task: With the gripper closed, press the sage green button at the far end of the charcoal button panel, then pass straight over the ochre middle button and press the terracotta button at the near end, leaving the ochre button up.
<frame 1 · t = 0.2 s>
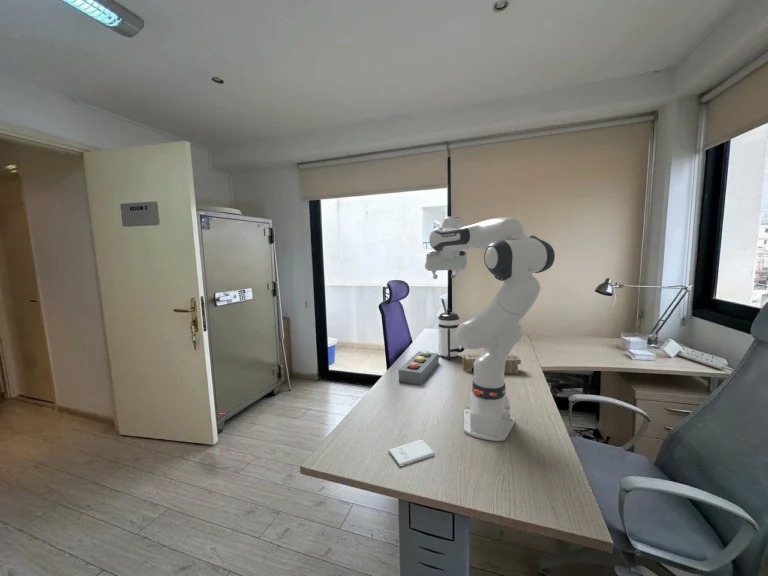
hand: (444, 278, 151), 52 cm above the table, tool tilted 20°, fingers open, 8 cm apart
brick button: (413, 365, 160), point 7 cm above the table, slide at 0.0 cm
sage button: (425, 353, 178), point 7 cm above the table, slide at 0.0 cm
ochre button: (419, 359, 169), point 7 cm above the table, slide at 0.0 cm
coffee press: (451, 357, 192), on the table
button panel: (420, 371, 169), on the table
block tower: (490, 371, 168), on the table
external hard drive: (411, 455, 100), on the table
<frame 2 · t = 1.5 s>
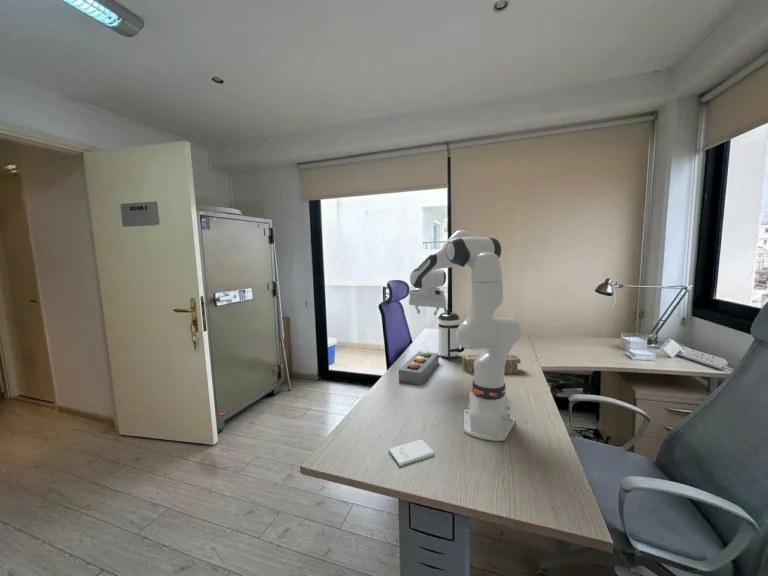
hand: (426, 314, 173), 31 cm above the table, tool pointing down, fingers open, 8 cm apart
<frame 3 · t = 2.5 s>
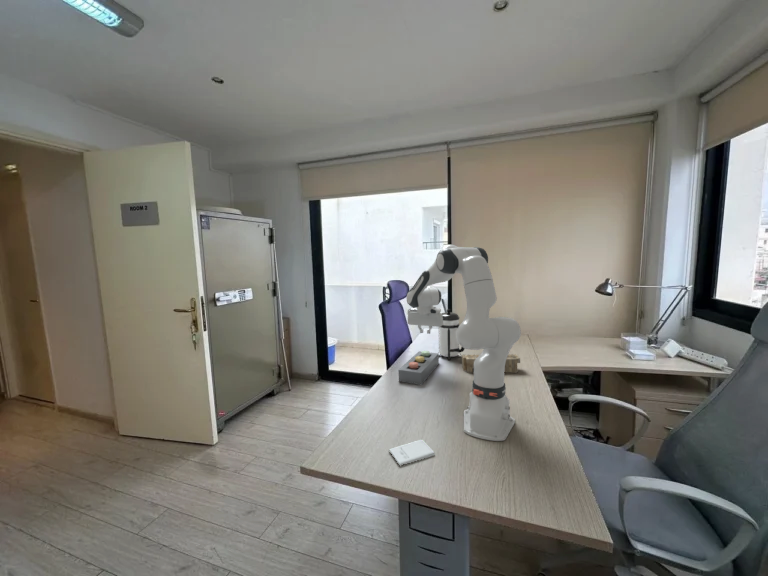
hand: (425, 333, 176), 19 cm above the table, tool pointing down, fingers open, 3 cm apart
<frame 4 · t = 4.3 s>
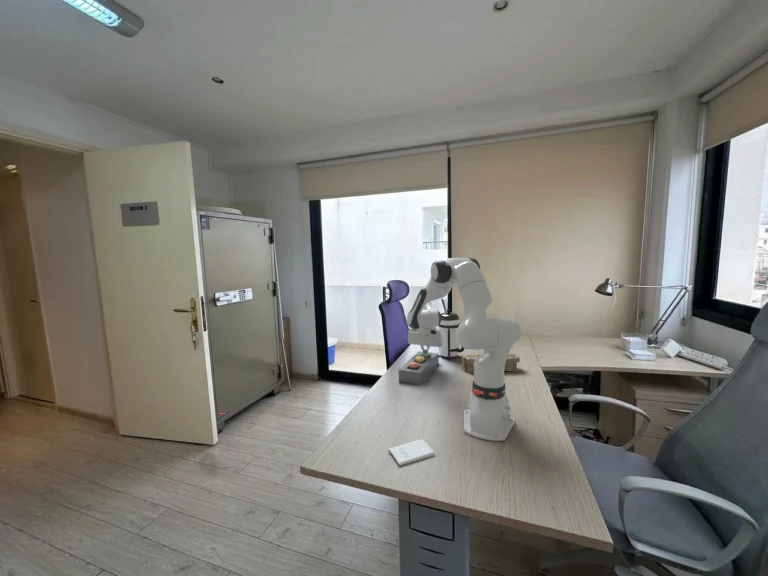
hand: (425, 352, 178), 8 cm above the table, tool pointing down, fingers closed, pressing on sage button
sage button: (425, 354, 178), point 6 cm above the table, slide at 0.5 cm, touching gripper
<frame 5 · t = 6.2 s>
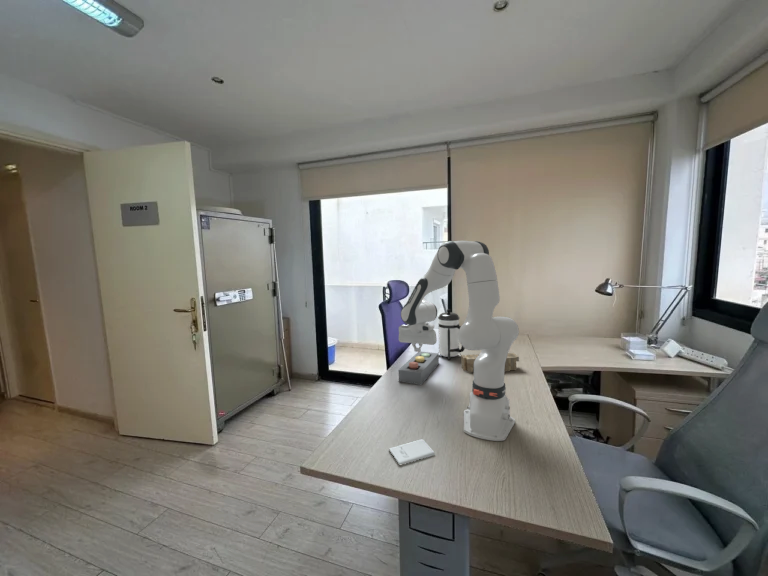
hand: (417, 351, 163), 13 cm above the table, tool pointing down, fingers closed
sage button: (425, 356, 178), point 6 cm above the table, slide at 1.4 cm
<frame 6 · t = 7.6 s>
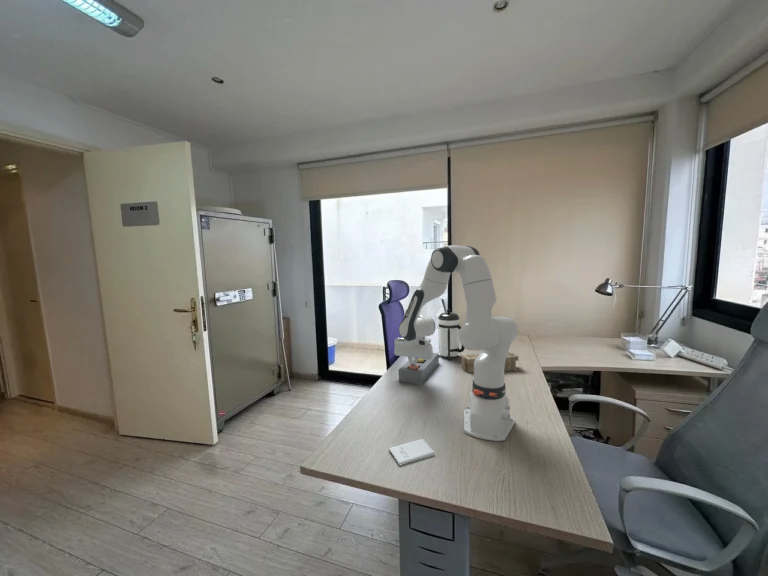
hand: (413, 365, 160), 7 cm above the table, tool pointing down, fingers closed, pressing on brick button
brick button: (413, 367, 160), point 6 cm above the table, slide at 1.1 cm, touching gripper
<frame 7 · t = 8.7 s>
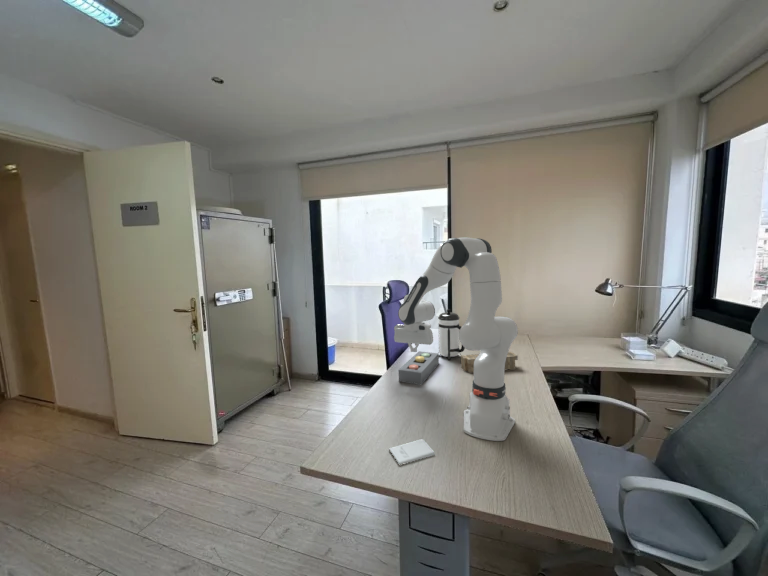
hand: (413, 351, 159), 14 cm above the table, tool pointing down, fingers closed
brick button: (413, 368, 160), point 6 cm above the table, slide at 1.4 cm
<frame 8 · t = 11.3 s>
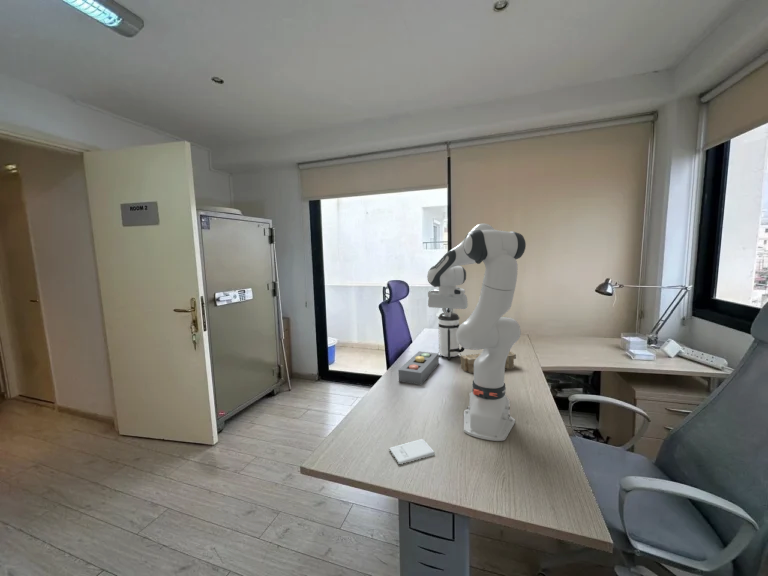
hand: (447, 316, 162), 31 cm above the table, tool pointing down, fingers closed
at the end: sage button slide at 1.4 cm; brick button slide at 1.4 cm; ochre button slide at 0.0 cm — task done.
